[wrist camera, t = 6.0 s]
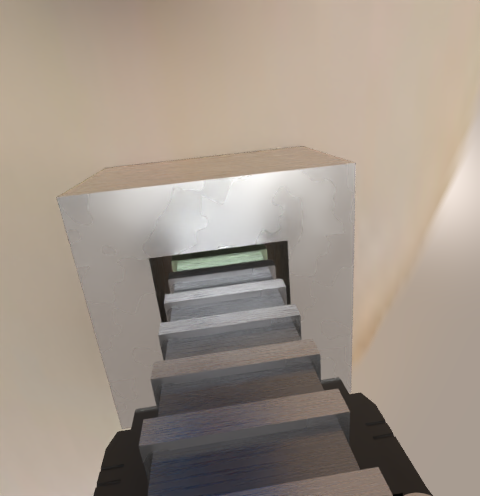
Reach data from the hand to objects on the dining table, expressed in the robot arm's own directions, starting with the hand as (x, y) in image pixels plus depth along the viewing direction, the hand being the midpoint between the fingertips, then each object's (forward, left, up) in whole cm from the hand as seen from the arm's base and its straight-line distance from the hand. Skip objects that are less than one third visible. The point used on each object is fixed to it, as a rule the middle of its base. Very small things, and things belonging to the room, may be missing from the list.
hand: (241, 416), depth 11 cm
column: (0, 0, -11) cm, 11 cm away
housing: (0, 0, -14) cm, 14 cm away
